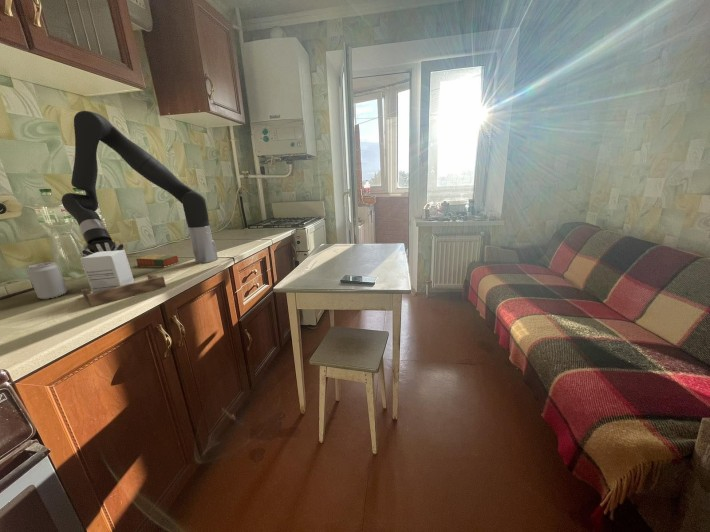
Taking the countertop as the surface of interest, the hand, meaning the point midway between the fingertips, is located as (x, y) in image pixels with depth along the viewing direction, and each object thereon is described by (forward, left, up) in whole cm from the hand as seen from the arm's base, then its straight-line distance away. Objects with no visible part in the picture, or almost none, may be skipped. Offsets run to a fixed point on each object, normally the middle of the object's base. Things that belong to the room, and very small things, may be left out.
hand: (112, 267), depth 106 cm
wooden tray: (0, +11, -7) cm, 13 cm away
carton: (-20, -20, -8) cm, 29 cm away
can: (+17, -6, -7) cm, 19 cm away
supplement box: (+3, +12, -7) cm, 14 cm away
